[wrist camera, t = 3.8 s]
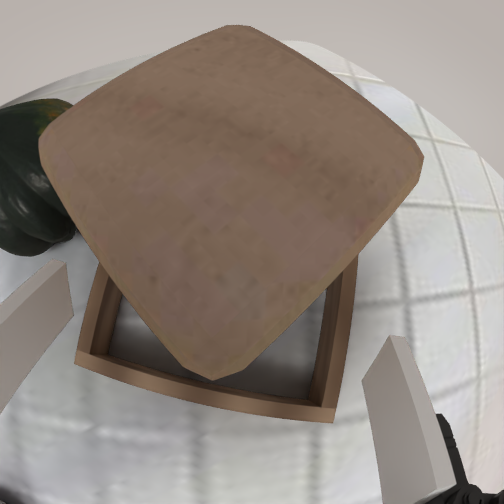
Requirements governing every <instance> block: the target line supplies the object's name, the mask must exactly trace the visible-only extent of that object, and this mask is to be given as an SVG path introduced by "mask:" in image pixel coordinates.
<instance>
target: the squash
mask: <svg viewBox="0 0 504 504" xmlns="http://www.w3.org/2000/svg"><path fill="white" fill-rule="evenodd" d="M72 106H73V105H72V104H70V103H68V102H66V101H63V100H60V99H39V100H33V101H29V102H25V103H20V104H16V105H13V106H9V107H6V108H3V109H0V248H1V249H3V250H5V251H7V252H9V253H11V254H15V255H19V256H29V257H30V256H36V255H39V254H41V253H43V252H45V251H47V250H48V249H49V248H50V247H51V246H52V245H53V244H54V243H58V242H66V241H68V240H70V239H72V238H73V236H74V234H75V231H76V225H75V223H74V222H73V220H72V218H71V217H70V215H69V214H68V212H67V210H66V209H65V207H64V205H63V203H62V202H61V200H60V198H59V197H58V195H57V193H56V191H55V190H54V188H53V186H52V184H51V182H50V180H49V179H48V177H47V175H46V173H45V171H44V169H43V167H42V165H41V161H40V154H39V137H40V136H41V135H42V133H43V132H44V130H45V129H46V128H47V126H48V125H49V124H50V123H51V122H52V121H54V120H55V119H56V118H58V117H59V116H60V115H61V114H63V113H64V112H66V111H67V110H68V109H70V108H71V107H72Z"/></svg>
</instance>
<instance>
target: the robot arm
mask: <svg viewBox="0 0 504 504" xmlns="http://www.w3.org/2000/svg"><path fill="white" fill-rule="evenodd" d="M73 316H74V313H73V308H72V302H71V296H70V290H69V283H68V276H67V268H66V263H64V262H61V261H58V260H55V259H52V260H50V261H49V262H48V263H47V264H45V265H44V266H43V267H42V268H41V269H39V270H38V271H37V272H36V273H35V274H34V275H32V276H31V277H30V278H29V279H28V280H27V281H26V282H24V283H23V284H22V285H21V286H20V287H19V288H18V289H17V290H15V291H14V292H13V293H12V294H11V295H10V296H9V297H8V298H7V299H6V300H5V301H3V302H2V303H1V304H0V414H1V412H2V411H3V409H4V408H5V406H6V405H7V403H8V402H9V400H10V399H11V397H12V396H13V395H14V393H15V392H16V390H17V389H18V387H19V386H20V385H21V383H22V382H23V380H24V379H25V378H26V376H27V375H28V373H29V372H30V371H31V369H32V368H33V367H34V365H35V364H36V363H37V361H38V360H39V359H40V357H41V356H42V355H43V353H44V352H45V351H46V350H47V348H48V347H49V346H50V344H51V343H52V342H53V341H54V339H55V338H56V337H57V336H58V334H59V333H60V332H61V331H62V329H63V328H64V327H65V326H66V324H67V323H68V322H69V321H70V320H71V318H72V317H73ZM362 385H363V389H364V394H365V399H366V404H367V409H368V414H369V419H370V424H371V429H372V435H373V440H374V446H375V452H376V458H377V464H378V471H379V477H380V484H381V492H382V499H383V504H504V490H502V491H501V492H499V493H498V494H488V493H482V491H481V490H480V489H479V488H478V487H477V486H476V485H473V484H469V483H468V481H467V478H466V475H465V471H464V468H463V464H462V461H461V458H460V455H459V451H458V448H456V442H455V439H454V438H453V433H452V430H451V427H450V425H449V423H448V422H447V420H446V419H445V418H444V416H443V415H442V414H435V411H434V409H433V406H432V403H431V400H430V398H429V395H428V392H427V390H426V387H425V384H424V382H423V379H422V377H421V374H420V372H419V369H418V367H417V364H416V362H415V359H414V357H413V355H412V352H411V350H410V348H409V345H408V343H407V341H406V338H405V337H400V336H393V335H389V337H388V338H387V340H386V342H385V344H384V345H383V347H382V349H381V350H380V352H379V354H378V355H377V357H376V359H375V360H374V362H373V364H372V365H371V367H370V368H369V370H368V372H367V373H366V375H365V376H364V378H363V379H362Z"/></svg>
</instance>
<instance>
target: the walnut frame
mask: <svg viewBox="0 0 504 504" xmlns="http://www.w3.org/2000/svg"><path fill="white" fill-rule="evenodd" d="M358 254H359V253H358ZM357 266H358V255H357V256H356V257H355V258H354V259H353V260H352V261H351V262H350V263H349V265H348V266H347V267H346V268H345V269H344V270H343V271H342V272H341V273H340V274H339V275H338V276H337V278H336V279H335V280H334V281H333V282H332V283H331V284H330V285H329V286H328V287H327V293H326V300H325V307H324V314H323V321H322V327H321V333H320V339H319V345H318V351H317V357H316V362H315V368H314V373H313V378H312V383H311V388H310V393H309V398H308V400H305V399H297V398H289V397H282V396H275V395H269V394H262V393H256V392H251V391H245V390H240V389H235V388H229V387H225V386H220V385H215V384H211V383H206V382H202V381H197V380H193V379H189V378H185V377H181V376H177V375H173V374H170V373H166V372H162V371H159V370H155V369H152V368H148V367H145V366H142V365H138V364H135V363H132V362H129V361H126V360H123V359H120V358H117V357H114V356H111V355H108V351H109V347H110V342H111V338H112V333H113V329H114V325H115V320H116V316H117V312H118V308H119V304H120V301H121V297H122V292H121V291H120V289H119V288H118V287H117V285H116V284H115V283H114V281H113V280H112V279H111V277H110V276H109V274H108V273H107V272H106V270H105V269H104V267H103V266H102V264H101V263H100V262H99V264H98V268H97V271H96V274H95V278H94V281H93V285H92V288H91V292H90V295H89V299H88V303H87V307H86V311H85V315H84V319H83V323H82V327H81V332H80V336H79V341H78V346H77V351H76V356H75V361H74V364H76V365H78V366H81V367H83V368H86V369H88V370H91V371H94V372H96V373H99V374H102V375H104V376H107V377H110V378H113V379H116V380H118V381H121V382H124V383H127V384H130V385H133V386H137V387H140V388H143V389H146V390H150V391H153V392H156V393H160V394H163V395H167V396H171V397H174V398H178V399H182V400H186V401H190V402H194V403H198V404H203V405H207V406H212V407H217V408H221V409H226V410H232V411H237V412H242V413H248V414H254V415H261V416H267V417H274V418H282V419H290V420H299V421H310V422H321V423H333V421H334V417H335V412H336V407H337V403H338V398H339V393H340V388H341V383H342V377H343V372H344V366H345V360H346V354H347V348H348V341H349V335H350V328H351V320H352V313H353V305H354V296H355V287H356V277H357Z"/></svg>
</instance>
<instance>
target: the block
mask: <svg viewBox="0 0 504 504" xmlns="http://www.w3.org/2000/svg"><path fill="white" fill-rule="evenodd" d="M39 154H40V161H41V165H42V167H43V169H44V171H45V173H46V175H47V177H48V179H49V180H50V182H51V184H52V186H53V188H54V190H55V191H56V193H57V195H58V197H59V198H60V200H61V202H62V203H63V205H64V207H65V209H66V210H67V212H68V214H69V215H70V217H71V218H72V220H73V222H74V223H75V225H76V227H77V228H78V230H79V231H80V233H81V234H82V236H83V238H84V239H85V241H86V242H87V244H88V245H89V247H90V248H91V250H92V251H93V253H94V254H95V256H96V257H97V259H98V260H99V262H100V263H101V264H102V266H103V267H104V269H105V270H106V272H107V273H108V274H109V276H110V277H111V279H112V280H113V281H114V283H115V284H116V285H117V287H118V288H119V289H120V291H121V292H122V293H123V295H124V296H125V297H126V299H127V300H128V301H129V303H130V304H131V305H132V307H133V308H134V309H135V310H136V312H137V313H138V314H139V316H140V317H141V318H142V319H143V321H144V322H145V323H146V324H147V325H148V327H149V328H150V329H151V330H152V332H153V333H154V334H155V335H156V336H157V338H158V339H159V340H160V341H161V342H162V343H163V345H164V346H165V347H166V348H167V349H168V350H169V352H170V353H171V354H172V355H173V356H174V357H175V358H176V360H177V361H178V362H179V363H180V364H181V365H182V366H183V367H184V368H186V369H188V370H191V371H193V372H195V373H197V374H199V375H201V376H203V377H205V378H207V379H210V380H212V381H213V380H216V379H219V378H222V377H225V376H228V375H231V374H234V373H236V372H239V371H242V370H244V369H245V368H246V367H247V366H248V365H249V364H250V363H251V362H252V361H253V360H255V359H256V358H257V357H258V356H259V355H260V354H261V353H262V352H263V351H264V350H265V349H266V348H267V347H268V346H269V345H270V344H271V343H273V342H274V341H275V340H276V339H277V338H278V337H279V336H280V335H281V334H282V333H283V332H284V331H285V330H286V329H287V328H288V327H289V326H290V325H291V324H292V323H293V322H294V321H295V320H296V319H297V318H298V317H299V316H300V315H301V314H302V313H303V312H304V311H305V310H306V309H307V308H308V307H309V306H310V305H311V304H312V303H313V302H314V301H315V300H316V299H317V298H318V297H319V296H320V294H321V293H322V292H323V291H324V290H325V289H326V288H327V287H328V286H329V285H330V284H331V283H332V282H333V281H334V280H335V279H336V278H337V276H338V275H339V274H340V273H341V272H342V271H343V270H344V269H345V268H346V267H347V266H348V265H349V263H350V262H351V261H352V260H353V259H354V258H355V257H356V256H357V255H358V253H359V252H360V251H361V250H362V249H363V248H364V247H365V246H366V244H367V243H368V242H369V241H370V240H371V239H372V238H373V236H374V235H375V234H376V233H377V232H378V231H379V229H380V228H381V227H382V226H383V225H384V224H385V222H386V221H387V220H388V219H389V218H390V216H391V215H392V214H393V213H394V212H395V210H396V209H397V208H398V207H399V206H400V204H401V203H402V202H403V201H404V199H405V198H406V197H407V196H408V195H409V193H410V192H411V191H412V190H413V188H414V187H415V186H416V184H417V183H418V181H419V177H420V173H421V169H422V165H423V160H424V155H423V154H422V152H421V150H420V148H419V147H418V145H417V143H416V142H415V140H414V139H412V138H411V137H410V136H409V135H408V134H407V133H406V132H405V131H404V130H403V129H401V128H400V127H399V126H398V125H397V124H396V123H395V122H393V121H392V120H391V119H390V118H389V117H388V116H386V115H385V114H384V113H383V112H382V111H380V110H379V109H378V108H377V107H375V106H374V105H373V104H372V103H370V102H369V101H368V100H367V99H365V98H364V97H363V96H361V95H360V94H359V93H357V92H356V91H355V90H353V89H352V88H351V87H349V86H348V85H347V84H345V83H344V82H342V81H341V80H340V79H338V78H337V77H335V76H334V75H332V74H331V73H329V72H328V71H326V70H325V69H323V68H322V67H320V66H319V65H317V64H316V63H314V62H313V61H311V60H310V59H308V58H306V57H305V56H303V55H301V54H300V53H298V52H297V51H295V50H293V49H291V48H290V47H288V46H286V45H285V44H283V43H281V42H279V41H277V40H276V39H274V38H272V37H270V36H268V35H266V34H264V33H263V32H261V31H259V30H257V29H255V28H253V27H251V26H243V25H226V26H224V27H221V28H218V29H216V30H213V31H210V32H208V33H205V34H203V35H200V36H198V37H196V38H193V39H191V40H189V41H187V42H184V43H182V44H180V45H177V46H175V47H173V48H171V49H169V50H167V51H165V52H163V53H161V54H159V55H157V56H155V57H153V58H151V59H149V60H147V61H145V62H143V63H141V64H139V65H137V66H136V67H134V68H132V69H130V70H129V71H127V72H125V73H123V74H122V75H120V76H118V77H116V78H115V79H113V80H112V81H110V82H108V83H107V84H105V85H103V86H102V87H100V88H99V89H97V90H96V91H94V92H93V93H91V94H90V95H88V96H87V97H85V98H84V99H82V100H81V101H79V102H78V103H77V104H75V105H74V106H72V107H71V108H70V109H68V110H67V111H66V112H64V113H63V114H61V115H60V116H59V117H58V118H56V119H55V120H54V121H52V122H51V123H50V124H49V125H48V126H47V128H46V129H45V130H44V132H43V133H42V135H41V136H40V137H39Z"/></svg>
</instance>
